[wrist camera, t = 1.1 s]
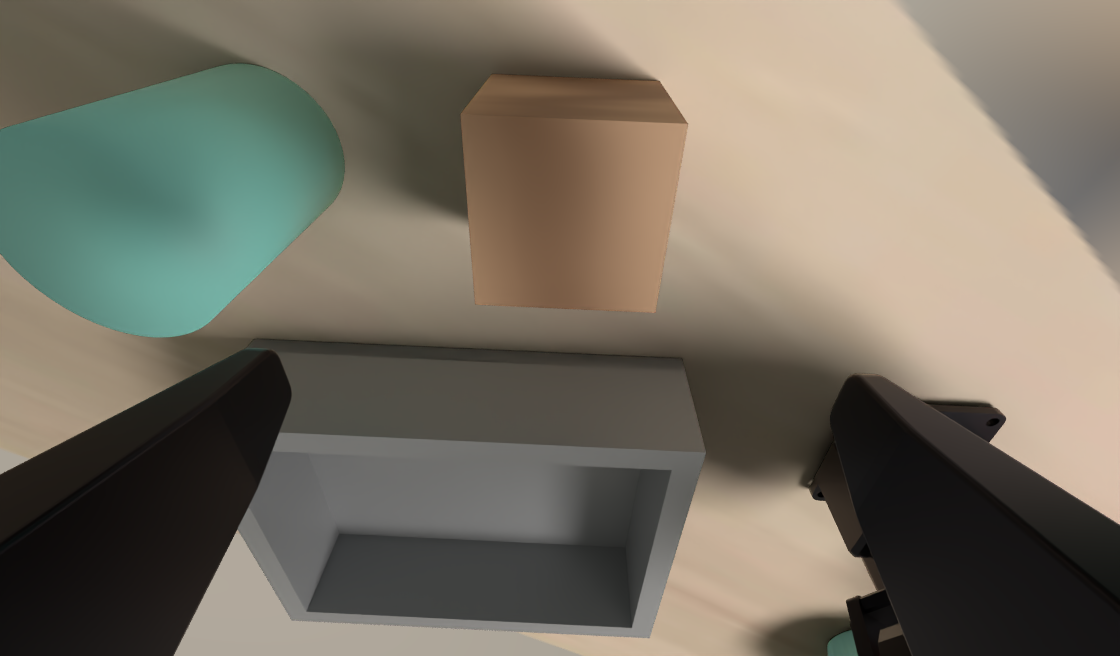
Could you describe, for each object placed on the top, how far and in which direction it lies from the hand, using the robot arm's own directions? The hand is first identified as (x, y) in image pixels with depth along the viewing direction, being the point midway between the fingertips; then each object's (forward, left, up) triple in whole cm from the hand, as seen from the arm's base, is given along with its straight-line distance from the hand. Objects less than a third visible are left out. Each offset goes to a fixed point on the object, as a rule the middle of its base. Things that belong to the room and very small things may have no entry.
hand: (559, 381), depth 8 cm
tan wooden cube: (0, 0, -11) cm, 11 cm away
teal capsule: (+10, 0, -10) cm, 15 cm away
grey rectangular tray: (+4, +15, -10) cm, 19 cm away
